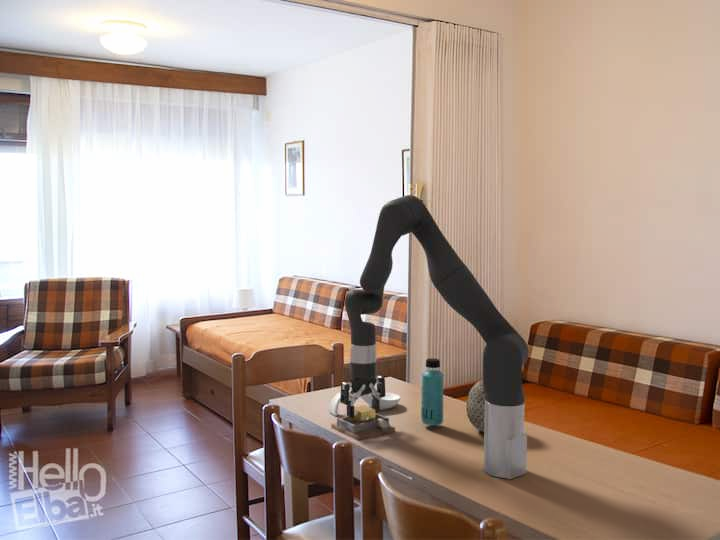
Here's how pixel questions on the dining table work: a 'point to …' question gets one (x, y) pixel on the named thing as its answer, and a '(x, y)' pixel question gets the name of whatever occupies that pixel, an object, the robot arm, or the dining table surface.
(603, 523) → the dining table surface
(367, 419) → the yellow cube
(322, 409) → the dining table surface
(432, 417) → the beverage bottle
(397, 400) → the spoon rest
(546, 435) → the dining table surface
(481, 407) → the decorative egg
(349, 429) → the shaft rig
